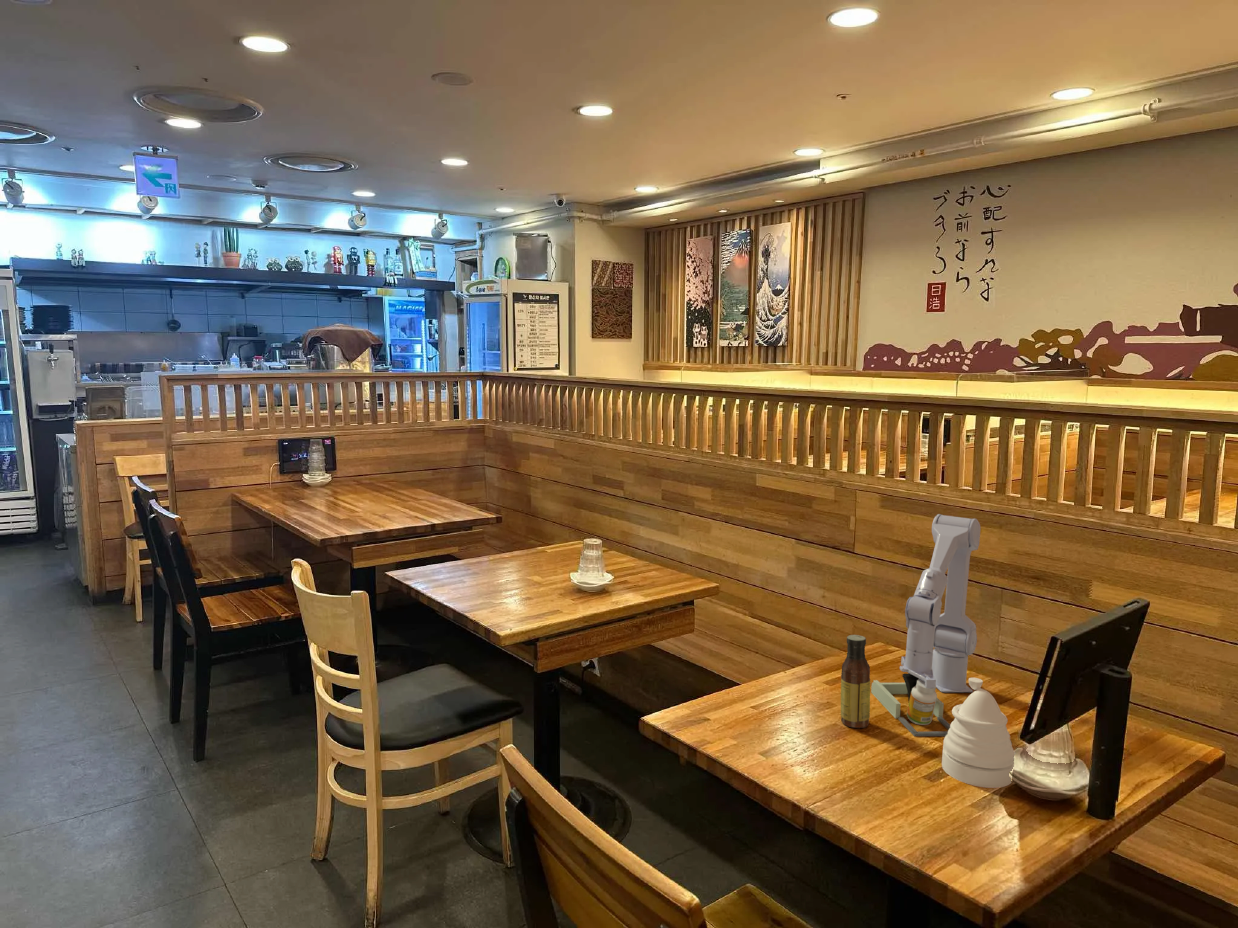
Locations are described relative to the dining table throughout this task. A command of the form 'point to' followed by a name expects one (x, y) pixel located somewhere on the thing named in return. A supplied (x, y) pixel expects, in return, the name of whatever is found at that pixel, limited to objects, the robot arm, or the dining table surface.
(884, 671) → the dining table surface
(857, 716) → the sauce bottle
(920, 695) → the supplement bottle
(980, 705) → the honey pot
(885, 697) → the pale green open frame
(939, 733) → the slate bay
